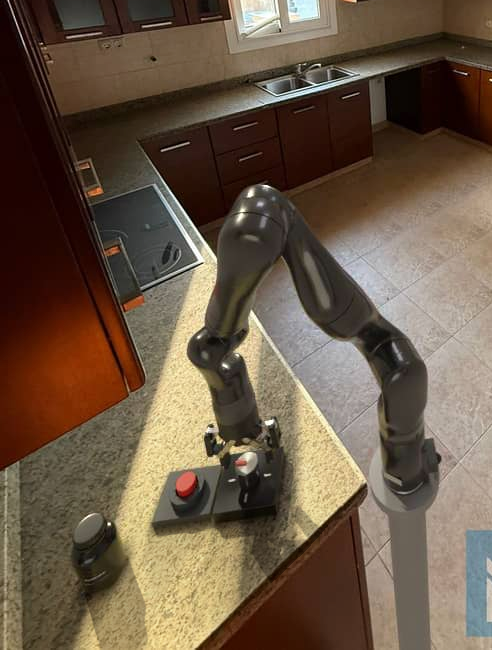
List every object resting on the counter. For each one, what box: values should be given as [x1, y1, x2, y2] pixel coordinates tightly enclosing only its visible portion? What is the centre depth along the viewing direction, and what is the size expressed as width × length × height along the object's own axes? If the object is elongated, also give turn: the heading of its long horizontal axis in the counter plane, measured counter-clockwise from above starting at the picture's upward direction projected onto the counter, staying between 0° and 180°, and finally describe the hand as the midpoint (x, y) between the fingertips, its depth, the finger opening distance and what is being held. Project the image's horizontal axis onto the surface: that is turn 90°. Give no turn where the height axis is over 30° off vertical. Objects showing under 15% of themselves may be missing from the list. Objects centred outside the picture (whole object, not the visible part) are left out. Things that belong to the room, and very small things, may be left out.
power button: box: [176, 472, 197, 497], centre depth 87 cm, size 4×4×2 cm
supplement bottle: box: [69, 511, 127, 595], centre depth 76 cm, size 7×7×12 cm
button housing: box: [150, 464, 224, 529], centre depth 88 cm, size 11×9×4 cm
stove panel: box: [212, 446, 286, 525], centre depth 89 cm, size 12×11×3 cm
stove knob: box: [235, 451, 261, 490], centre depth 88 cm, size 4×4×5 cm
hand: (249, 461), depth 88 cm, fingers open, 8 cm apart
